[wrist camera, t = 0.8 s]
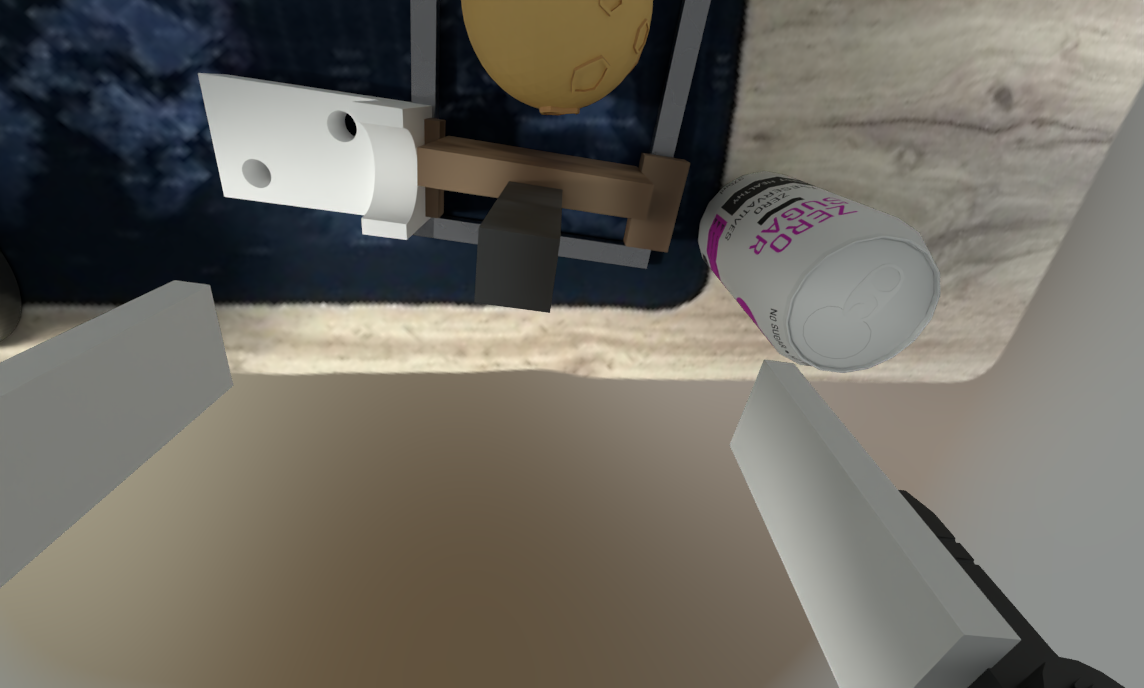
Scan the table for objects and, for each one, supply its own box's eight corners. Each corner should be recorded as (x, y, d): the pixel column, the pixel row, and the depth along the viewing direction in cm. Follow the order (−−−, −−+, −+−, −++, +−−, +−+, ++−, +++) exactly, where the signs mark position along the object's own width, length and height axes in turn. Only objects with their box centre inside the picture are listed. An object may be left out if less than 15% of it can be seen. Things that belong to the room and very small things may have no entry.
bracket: (437, 105, 31) (402, 108, 25) (437, 211, 35) (406, 239, 28) (235, 74, 30) (142, 70, 24) (256, 186, 34) (179, 210, 27)
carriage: (404, 203, 34) (267, 298, 18) (403, 111, 31) (238, 131, 15) (660, 242, 35) (734, 359, 20) (681, 157, 32) (786, 218, 17)
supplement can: (758, 295, 38) (862, 406, 24) (674, 248, 36) (737, 340, 22) (829, 205, 34) (994, 277, 21) (741, 147, 32) (861, 186, 19)
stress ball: (465, 29, 30) (496, 165, 28) (419, -172, 20) (462, 13, 18) (615, 3, 30) (657, 133, 28) (641, -204, 21) (707, -30, 19)
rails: (416, 231, 35) (413, 234, 34) (412, -360, 22) (406, -380, 21) (644, 264, 36) (646, 268, 35) (771, -272, 23) (779, -287, 22)
